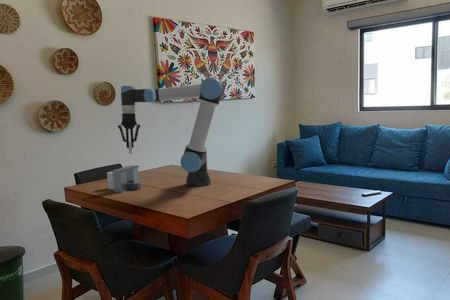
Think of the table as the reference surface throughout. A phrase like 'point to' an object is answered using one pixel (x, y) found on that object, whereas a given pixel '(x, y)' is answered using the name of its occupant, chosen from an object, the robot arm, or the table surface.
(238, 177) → the table surface
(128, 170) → the housing
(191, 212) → the table surface
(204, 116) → the robot arm
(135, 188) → the plug
